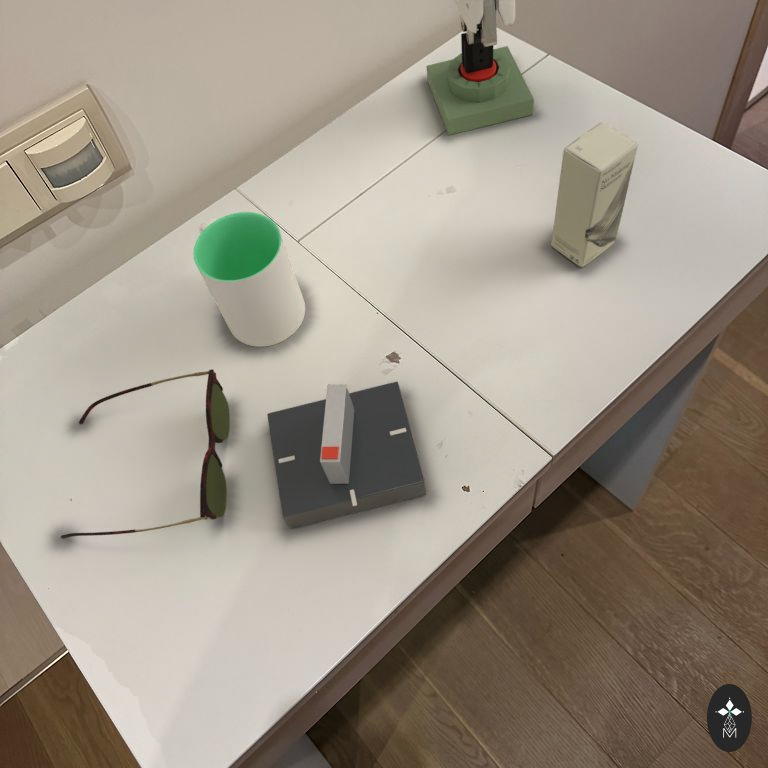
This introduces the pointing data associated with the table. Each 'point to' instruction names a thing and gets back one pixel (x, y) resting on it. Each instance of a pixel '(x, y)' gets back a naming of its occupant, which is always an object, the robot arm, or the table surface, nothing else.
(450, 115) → the button box
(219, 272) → the mug
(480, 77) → the button
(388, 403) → the plate
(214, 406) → the sunglasses
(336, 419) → the long grey beam
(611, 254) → the table surface
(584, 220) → the box
